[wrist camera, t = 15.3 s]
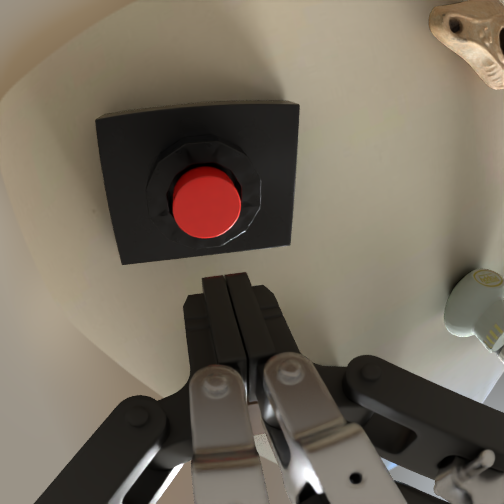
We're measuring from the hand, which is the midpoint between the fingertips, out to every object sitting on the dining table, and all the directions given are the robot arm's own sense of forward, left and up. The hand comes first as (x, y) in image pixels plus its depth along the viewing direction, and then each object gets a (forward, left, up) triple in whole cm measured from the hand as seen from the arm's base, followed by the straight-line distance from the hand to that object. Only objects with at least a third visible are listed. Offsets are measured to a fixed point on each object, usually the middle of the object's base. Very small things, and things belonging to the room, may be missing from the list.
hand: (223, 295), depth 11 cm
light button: (0, 0, -8) cm, 8 cm away
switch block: (0, 0, -12) cm, 12 cm away
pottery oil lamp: (+22, +14, -12) cm, 29 cm away
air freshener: (+34, -17, -12) cm, 40 cm away
